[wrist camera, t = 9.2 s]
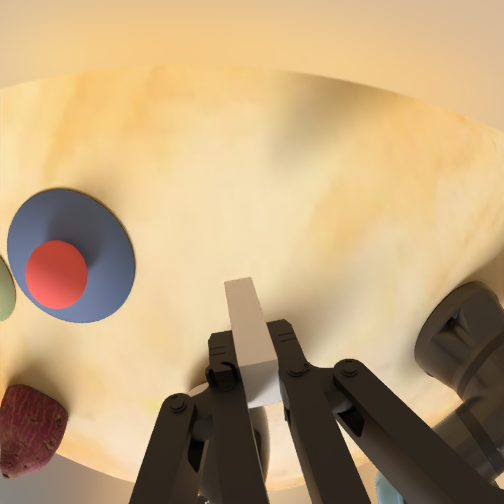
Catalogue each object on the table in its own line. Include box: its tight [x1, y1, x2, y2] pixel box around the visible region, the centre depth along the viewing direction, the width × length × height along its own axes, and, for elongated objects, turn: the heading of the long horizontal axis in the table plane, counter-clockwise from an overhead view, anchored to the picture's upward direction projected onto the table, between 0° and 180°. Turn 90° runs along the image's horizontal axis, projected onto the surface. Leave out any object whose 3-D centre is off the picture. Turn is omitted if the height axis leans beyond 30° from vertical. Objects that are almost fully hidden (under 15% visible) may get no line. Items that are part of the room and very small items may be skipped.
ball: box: [25, 240, 88, 309], centre depth 22 cm, size 6×6×6 cm
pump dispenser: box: [187, 382, 270, 504], centre depth 28 cm, size 10×10×15 cm
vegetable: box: [0, 384, 68, 479], centre depth 26 cm, size 10×10×15 cm
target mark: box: [7, 190, 135, 323], centre depth 24 cm, size 13×13×1 cm
